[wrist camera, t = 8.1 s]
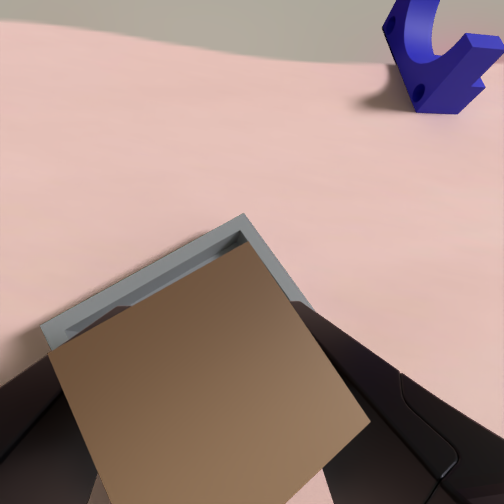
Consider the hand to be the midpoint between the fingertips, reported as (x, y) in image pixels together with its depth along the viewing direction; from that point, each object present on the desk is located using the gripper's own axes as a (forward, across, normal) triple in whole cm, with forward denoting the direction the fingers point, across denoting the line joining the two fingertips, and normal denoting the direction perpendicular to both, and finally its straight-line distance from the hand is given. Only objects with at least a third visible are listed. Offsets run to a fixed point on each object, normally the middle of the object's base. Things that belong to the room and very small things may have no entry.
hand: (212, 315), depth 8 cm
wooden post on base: (+5, 0, +7) cm, 8 cm away
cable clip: (+24, -21, -11) cm, 34 cm away
